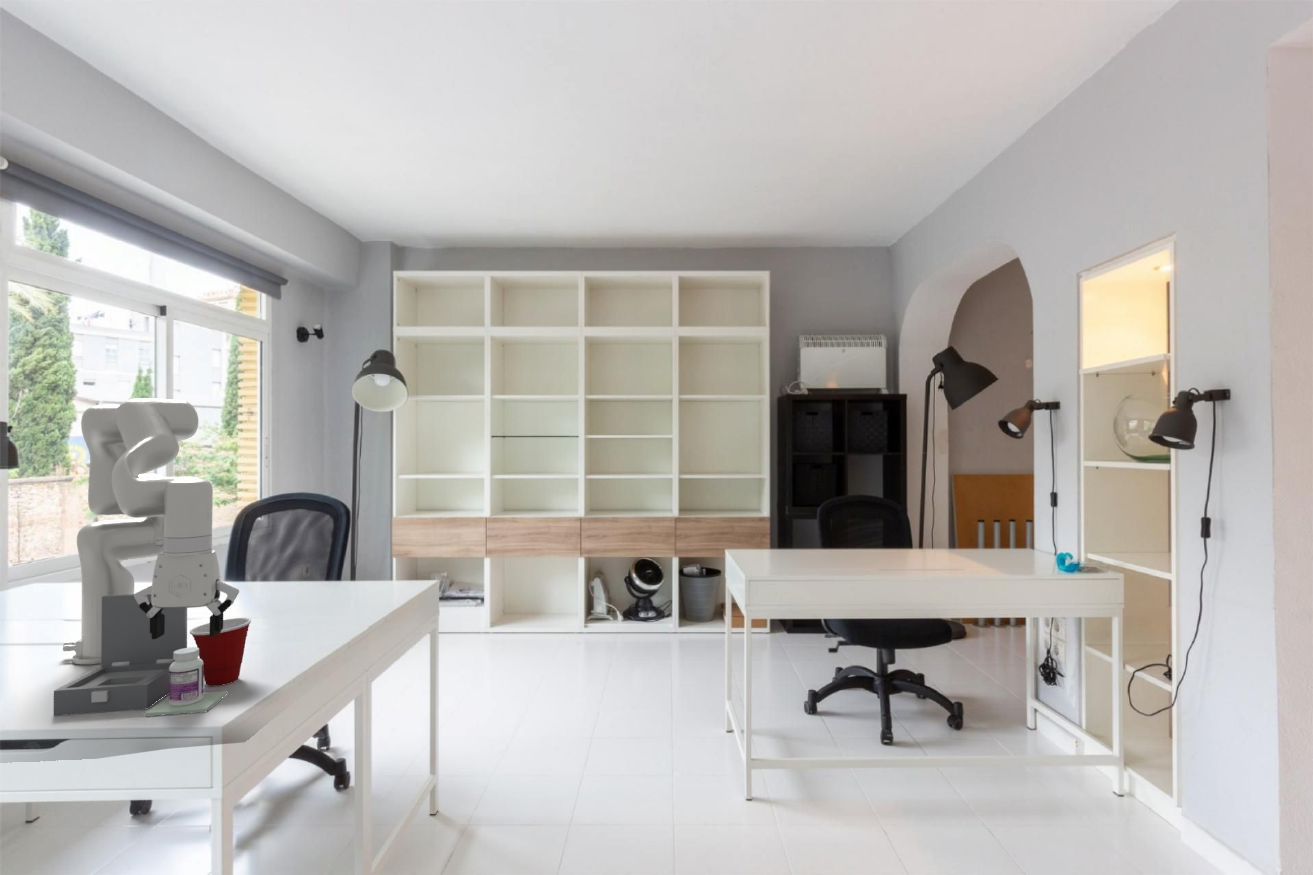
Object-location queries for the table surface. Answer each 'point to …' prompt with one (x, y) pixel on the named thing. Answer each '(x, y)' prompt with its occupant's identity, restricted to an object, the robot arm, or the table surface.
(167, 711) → the sage mat
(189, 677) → the pill bottle
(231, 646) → the plastic cup
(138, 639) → the equipment case
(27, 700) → the table surface
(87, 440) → the robot arm
